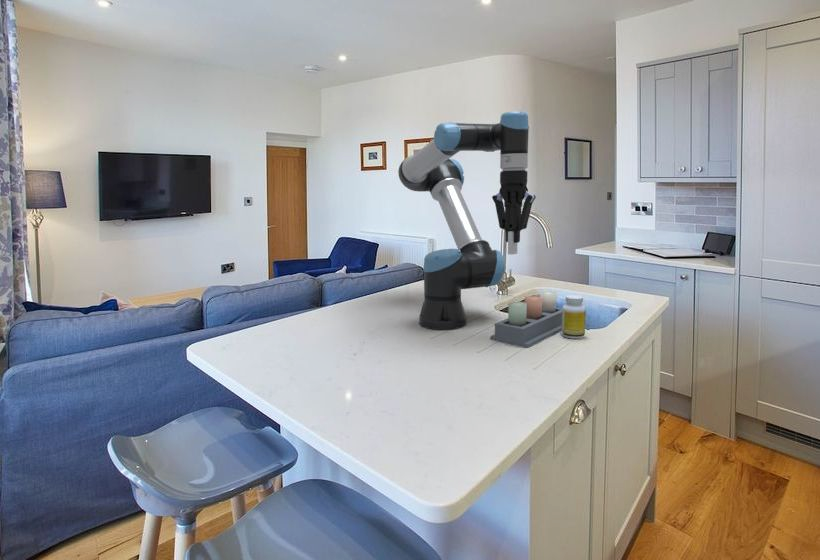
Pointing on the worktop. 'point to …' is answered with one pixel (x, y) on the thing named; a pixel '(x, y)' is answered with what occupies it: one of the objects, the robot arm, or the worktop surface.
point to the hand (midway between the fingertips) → (512, 253)
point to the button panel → (529, 330)
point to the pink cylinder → (534, 307)
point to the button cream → (548, 301)
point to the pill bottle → (573, 317)
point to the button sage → (517, 313)
